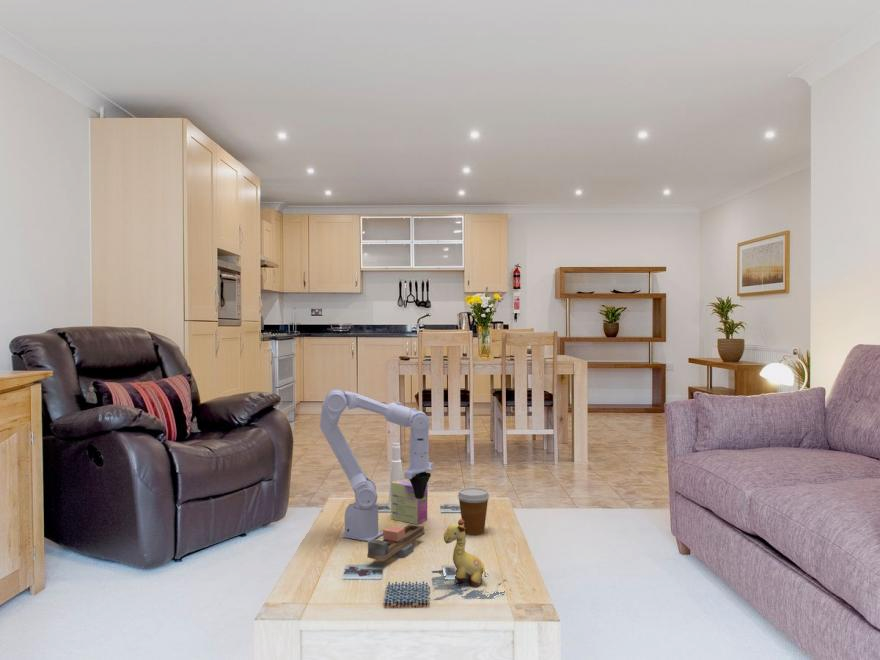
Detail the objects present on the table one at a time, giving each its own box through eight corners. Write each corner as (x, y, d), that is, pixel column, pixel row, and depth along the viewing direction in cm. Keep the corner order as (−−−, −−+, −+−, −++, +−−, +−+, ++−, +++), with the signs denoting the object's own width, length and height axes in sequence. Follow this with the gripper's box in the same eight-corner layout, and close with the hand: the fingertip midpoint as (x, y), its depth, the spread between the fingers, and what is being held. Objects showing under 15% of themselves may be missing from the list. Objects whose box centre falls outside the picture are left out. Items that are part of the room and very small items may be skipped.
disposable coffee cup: (453, 534, 177) (452, 494, 177) (464, 525, 186) (463, 486, 186) (483, 539, 173) (483, 497, 173) (493, 528, 182) (493, 489, 182)
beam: (364, 564, 154) (364, 541, 155) (406, 538, 174) (406, 517, 174) (387, 569, 151) (387, 545, 151) (427, 541, 171) (427, 520, 171)
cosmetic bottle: (408, 506, 206) (407, 442, 206) (401, 511, 200) (401, 445, 200) (391, 504, 208) (391, 441, 208) (384, 509, 202) (384, 444, 202)
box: (428, 520, 191) (427, 482, 191) (417, 525, 186) (417, 486, 186) (401, 514, 197) (401, 478, 197) (390, 519, 192) (390, 482, 192)
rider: (383, 544, 160) (383, 530, 160) (390, 539, 164) (390, 525, 164) (397, 546, 159) (397, 532, 159) (405, 541, 162) (404, 528, 162)
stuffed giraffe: (431, 571, 150) (433, 508, 150) (502, 572, 151) (505, 509, 151) (433, 603, 134) (435, 532, 134) (513, 603, 135) (516, 533, 135)
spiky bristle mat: (382, 611, 130) (381, 601, 130) (385, 589, 141) (385, 581, 141) (430, 610, 130) (430, 601, 130) (430, 589, 141) (430, 580, 141)
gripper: (419, 458, 170) (419, 506, 170) (442, 449, 183) (442, 493, 183) (398, 455, 173) (398, 503, 173) (421, 447, 186) (421, 491, 186)
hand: (419, 498), depth 179 cm, fingers closed
